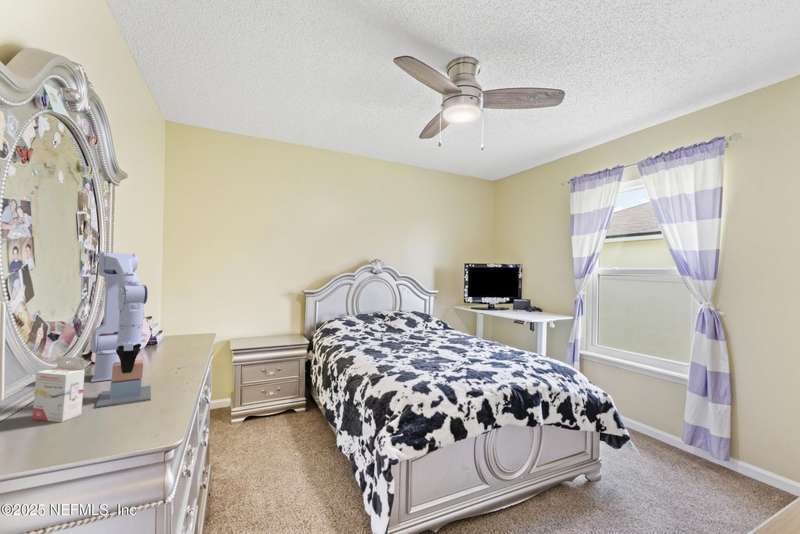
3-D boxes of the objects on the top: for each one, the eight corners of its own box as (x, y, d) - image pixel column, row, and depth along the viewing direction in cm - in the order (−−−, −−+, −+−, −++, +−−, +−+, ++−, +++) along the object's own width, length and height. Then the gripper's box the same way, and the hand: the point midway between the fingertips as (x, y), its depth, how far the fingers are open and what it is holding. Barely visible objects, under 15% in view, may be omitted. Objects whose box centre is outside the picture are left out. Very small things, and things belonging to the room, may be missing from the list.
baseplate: (101, 393, 103) (101, 391, 103) (150, 387, 110) (150, 385, 110) (95, 408, 91) (95, 405, 91) (150, 400, 99) (150, 398, 99)
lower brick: (111, 394, 100) (112, 379, 100) (140, 390, 104) (141, 376, 105) (109, 399, 97) (110, 383, 97) (140, 395, 101) (141, 379, 101)
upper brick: (112, 377, 101) (114, 362, 101) (142, 374, 105) (143, 360, 105) (111, 381, 97) (112, 365, 97) (142, 378, 101) (143, 363, 101)
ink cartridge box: (30, 420, 83) (35, 359, 83) (52, 412, 88) (57, 355, 88) (61, 423, 82) (66, 361, 83) (82, 415, 87) (87, 357, 88)
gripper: (147, 327, 98) (143, 374, 98) (147, 321, 110) (144, 363, 109) (115, 328, 94) (112, 378, 93) (119, 322, 106) (116, 366, 105)
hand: (127, 370), depth 101 cm, fingers closed on upper brick, 4 cm apart
